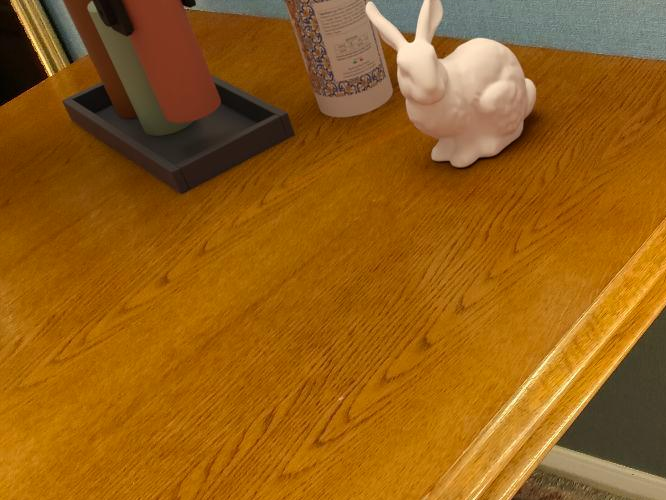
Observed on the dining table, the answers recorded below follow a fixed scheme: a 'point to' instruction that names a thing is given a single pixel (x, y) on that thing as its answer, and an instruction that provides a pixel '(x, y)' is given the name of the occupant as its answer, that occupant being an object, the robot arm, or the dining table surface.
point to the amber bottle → (100, 57)
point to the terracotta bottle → (172, 59)
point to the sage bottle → (134, 79)
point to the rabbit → (459, 89)
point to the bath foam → (341, 55)
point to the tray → (186, 135)
